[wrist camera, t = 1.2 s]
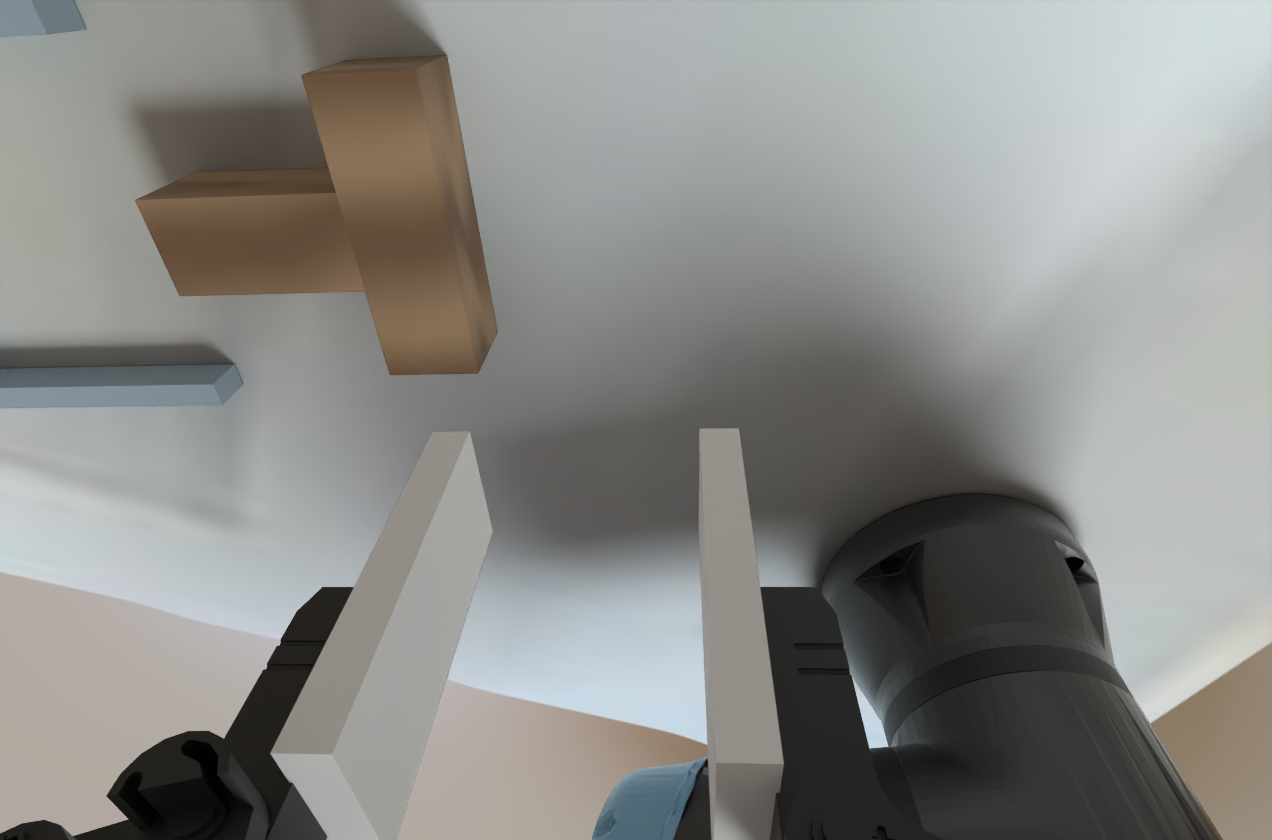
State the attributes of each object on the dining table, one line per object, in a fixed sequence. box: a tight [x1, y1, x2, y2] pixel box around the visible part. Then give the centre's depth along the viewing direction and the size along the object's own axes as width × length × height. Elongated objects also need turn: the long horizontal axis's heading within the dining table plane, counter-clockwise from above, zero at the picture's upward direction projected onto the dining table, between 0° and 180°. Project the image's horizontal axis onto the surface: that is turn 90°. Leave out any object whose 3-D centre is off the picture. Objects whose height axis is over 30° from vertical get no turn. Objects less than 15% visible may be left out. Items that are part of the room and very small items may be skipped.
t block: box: [135, 55, 498, 375], centre depth 28 cm, size 12×12×4 cm
